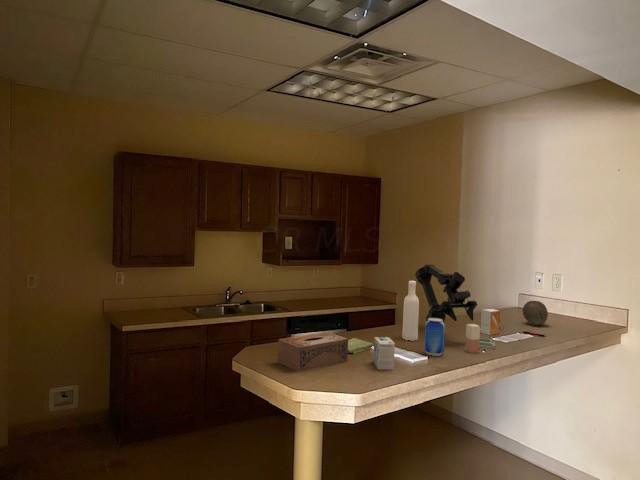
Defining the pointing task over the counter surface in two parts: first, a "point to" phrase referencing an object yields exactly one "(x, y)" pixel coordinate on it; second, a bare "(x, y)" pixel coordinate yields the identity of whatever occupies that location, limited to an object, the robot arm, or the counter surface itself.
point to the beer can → (434, 337)
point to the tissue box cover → (312, 351)
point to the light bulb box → (384, 353)
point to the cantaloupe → (535, 312)
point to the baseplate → (486, 343)
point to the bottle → (410, 314)
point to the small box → (490, 321)
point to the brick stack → (472, 338)
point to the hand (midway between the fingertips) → (464, 320)
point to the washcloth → (358, 345)
